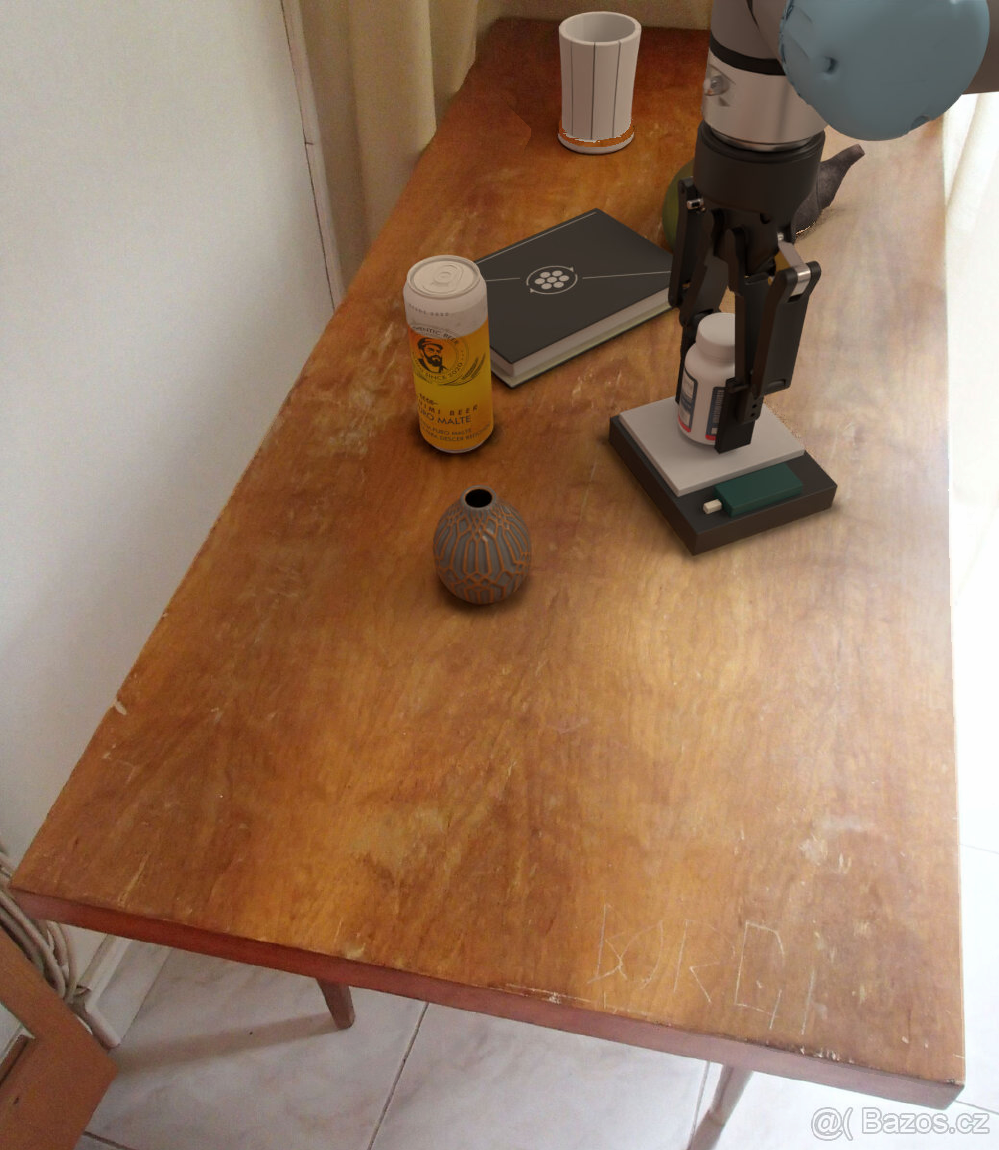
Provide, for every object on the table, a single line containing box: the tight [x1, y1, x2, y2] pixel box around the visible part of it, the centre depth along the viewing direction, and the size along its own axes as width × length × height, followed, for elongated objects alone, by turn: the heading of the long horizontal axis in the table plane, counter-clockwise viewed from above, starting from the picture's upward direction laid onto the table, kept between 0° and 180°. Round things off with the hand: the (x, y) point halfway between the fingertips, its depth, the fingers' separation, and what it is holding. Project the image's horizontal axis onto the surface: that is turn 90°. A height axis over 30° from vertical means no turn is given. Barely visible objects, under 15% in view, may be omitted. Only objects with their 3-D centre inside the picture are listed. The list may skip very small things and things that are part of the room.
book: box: [472, 207, 674, 389], centre depth 93 cm, size 22×15×3 cm
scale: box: [608, 395, 839, 556], centre depth 77 cm, size 14×12×3 cm
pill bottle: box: [678, 311, 735, 445], centre depth 73 cm, size 5×5×9 cm
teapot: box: [795, 143, 866, 236], centre depth 101 cm, size 19×15×10 cm
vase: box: [432, 484, 533, 605], centre depth 69 cm, size 7×7×9 cm
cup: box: [557, 11, 642, 155], centre depth 111 cm, size 10×9×12 cm
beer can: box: [402, 254, 494, 454], centre depth 77 cm, size 6×6×15 cm
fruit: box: [661, 157, 694, 253], centre depth 94 cm, size 12×12×10 cm
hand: (711, 421), depth 76 cm, fingers closed on pill bottle, 5 cm apart
